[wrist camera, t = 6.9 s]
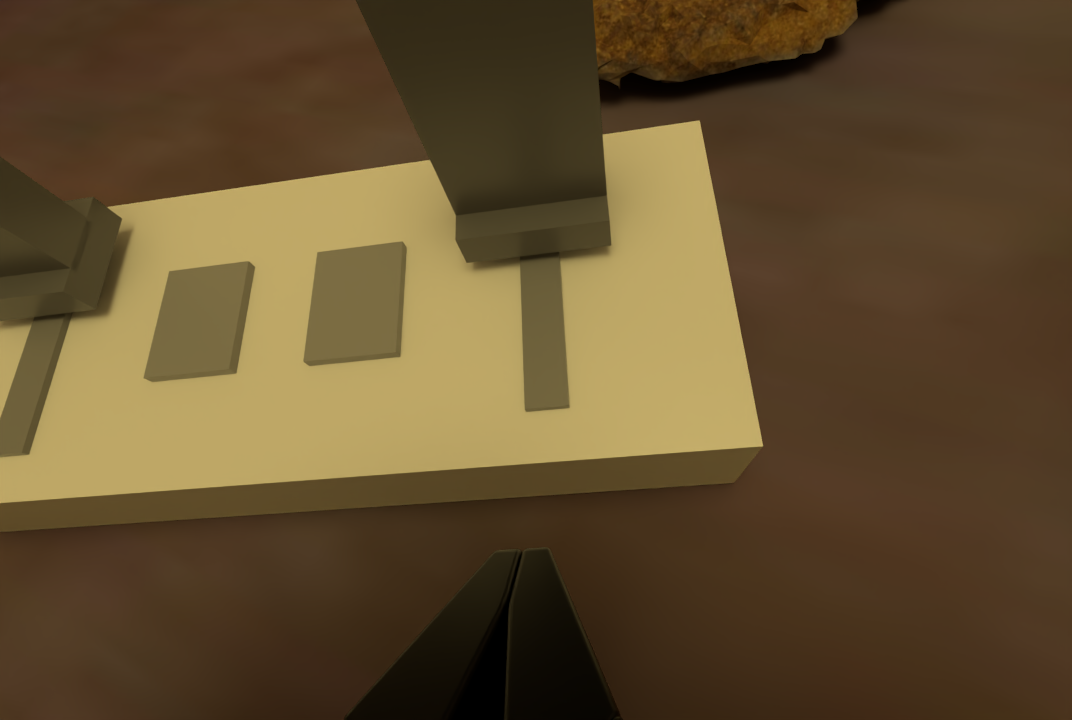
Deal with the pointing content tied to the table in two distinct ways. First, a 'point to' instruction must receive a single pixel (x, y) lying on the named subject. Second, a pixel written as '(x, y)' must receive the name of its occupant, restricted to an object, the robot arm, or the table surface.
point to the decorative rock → (709, 34)
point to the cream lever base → (381, 354)
